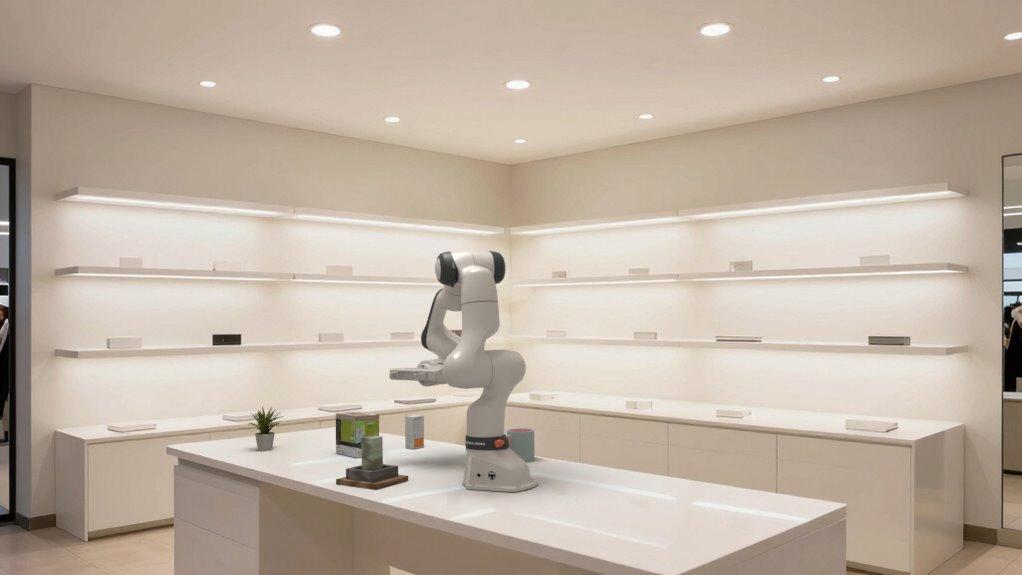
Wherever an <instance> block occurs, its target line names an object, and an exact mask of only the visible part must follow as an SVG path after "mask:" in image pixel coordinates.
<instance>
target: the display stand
mask: <svg viewBox="0 0 1022 575" xmlns="http://www.w3.org/2000/svg"><path fill="white" fill-rule="evenodd" d="M408 481H409V475H404V474H399V465H394V464H384V463H383V469H379V470H375V471H368V470H362V464H360V465H356V466H352V467H348V468H345V476H344V477H339V478H336V479H335V485H340V486H346V487H347V486H348V487H353V488H355V487H356V488H362V489H369V490H375V491H376V490H380V489H381V490H382V489H383V488H387V487H392V486H395V485H399V484H401V483H405V482H408Z"/></svg>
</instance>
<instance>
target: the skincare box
mask: <svg viewBox="0 0 1022 575" xmlns="http://www.w3.org/2000/svg"><path fill="white" fill-rule="evenodd" d="M404 417H405V418H404V419H405V420H404V421H405V423H404V424H405V425H404V427H405V428H404V429H405V431H404V435H405V438H404V440H405V442H404V443H405V444H404V445H405V449H408V450H416V449H421V448H425V415H421V414H413V415H407V416H404Z"/></svg>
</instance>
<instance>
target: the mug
mask: <svg viewBox="0 0 1022 575" xmlns="http://www.w3.org/2000/svg"><path fill="white" fill-rule="evenodd" d="M505 435H506V437H507V438H508V439H509V438H512V439H511V440H510V441H512V442H509V445H510V448H511V449H512V450H513V451H514V452H515V453H516V454H517V455H518V456H519V457H521V458H522V459H523V460H524V461H525V462H526V463H531V462H535V460H536V459H535V458H536V457H535V453H536V452H535V429H533V428H527V427H526V428H520V427H519V428H510V429H509V428H508V429H507V430H506V434H505Z"/></svg>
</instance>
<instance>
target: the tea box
mask: <svg viewBox="0 0 1022 575" xmlns="http://www.w3.org/2000/svg"><path fill="white" fill-rule="evenodd" d="M367 436H380V414H379V413H373V412H366V411H365V412H364V411H345V412H338V413H335V453H336V454H339V455H344V456H348V457H353V458H355V459H357V458H362V448H361V438H362V437H367Z"/></svg>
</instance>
